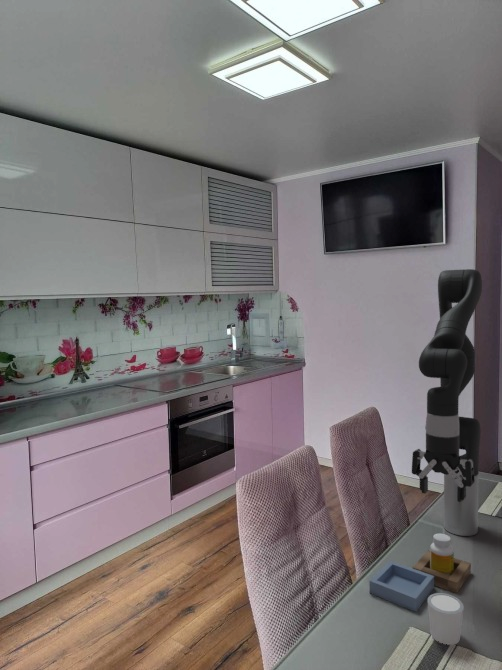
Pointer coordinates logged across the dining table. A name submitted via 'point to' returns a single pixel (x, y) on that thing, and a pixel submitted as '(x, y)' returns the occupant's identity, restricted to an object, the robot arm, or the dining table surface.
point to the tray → (402, 585)
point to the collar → (444, 580)
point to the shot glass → (445, 618)
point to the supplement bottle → (442, 554)
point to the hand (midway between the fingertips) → (442, 496)
